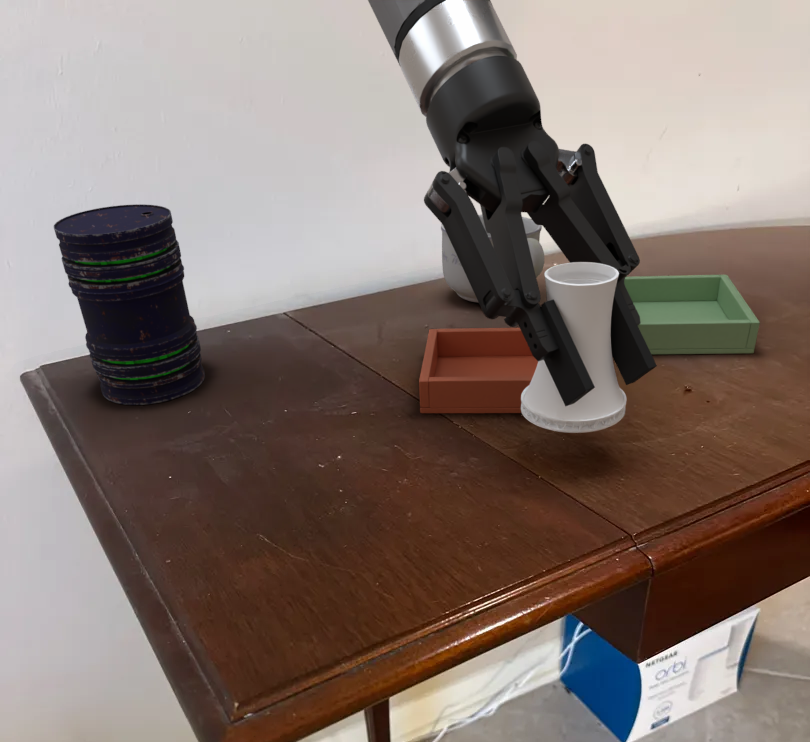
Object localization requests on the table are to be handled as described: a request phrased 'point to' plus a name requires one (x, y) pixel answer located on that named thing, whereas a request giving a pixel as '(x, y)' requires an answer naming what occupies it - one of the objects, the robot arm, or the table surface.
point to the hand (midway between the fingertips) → (610, 385)
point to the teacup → (453, 266)
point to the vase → (580, 352)
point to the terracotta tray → (475, 371)
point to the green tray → (692, 314)
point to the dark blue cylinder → (132, 301)
